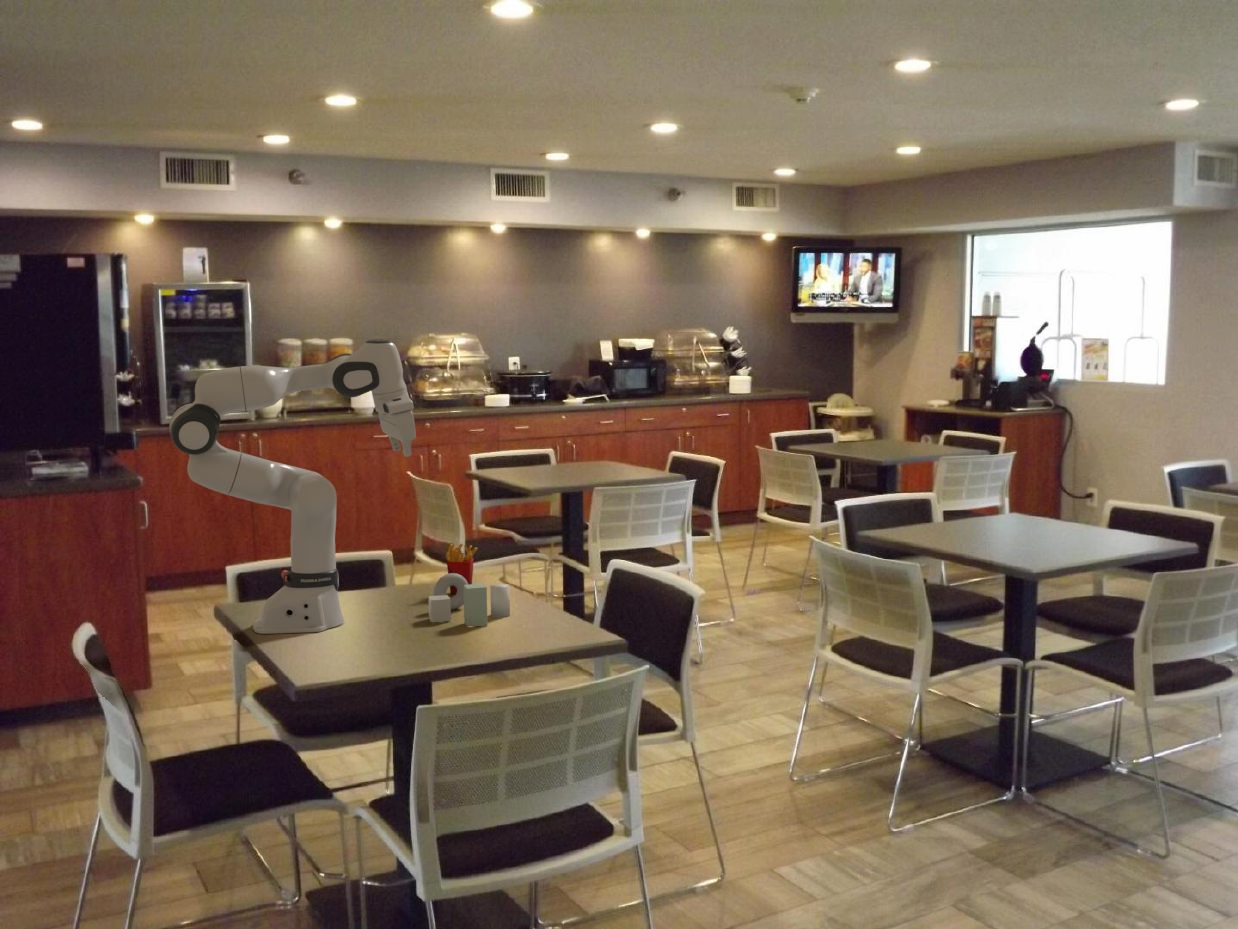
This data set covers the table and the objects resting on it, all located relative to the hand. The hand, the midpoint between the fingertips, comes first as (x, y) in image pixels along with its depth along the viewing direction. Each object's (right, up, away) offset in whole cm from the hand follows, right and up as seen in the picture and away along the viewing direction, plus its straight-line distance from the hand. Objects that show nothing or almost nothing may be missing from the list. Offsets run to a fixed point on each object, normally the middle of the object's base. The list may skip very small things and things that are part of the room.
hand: (402, 453), depth 302 cm
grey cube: (+9, -43, +2) cm, 44 cm away
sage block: (+19, -44, -3) cm, 48 cm away
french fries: (+11, -40, +33) cm, 53 cm away
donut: (+11, -42, +14) cm, 46 cm away
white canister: (+25, -43, +7) cm, 50 cm away
